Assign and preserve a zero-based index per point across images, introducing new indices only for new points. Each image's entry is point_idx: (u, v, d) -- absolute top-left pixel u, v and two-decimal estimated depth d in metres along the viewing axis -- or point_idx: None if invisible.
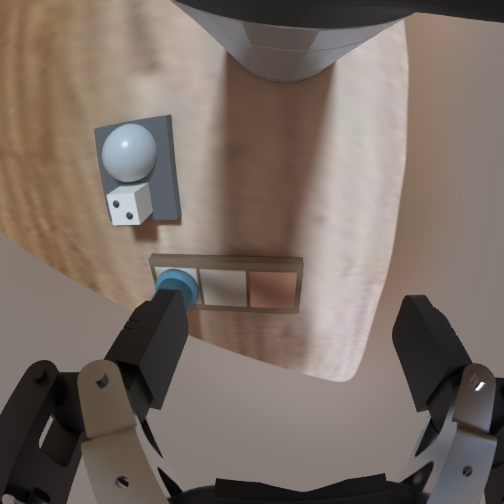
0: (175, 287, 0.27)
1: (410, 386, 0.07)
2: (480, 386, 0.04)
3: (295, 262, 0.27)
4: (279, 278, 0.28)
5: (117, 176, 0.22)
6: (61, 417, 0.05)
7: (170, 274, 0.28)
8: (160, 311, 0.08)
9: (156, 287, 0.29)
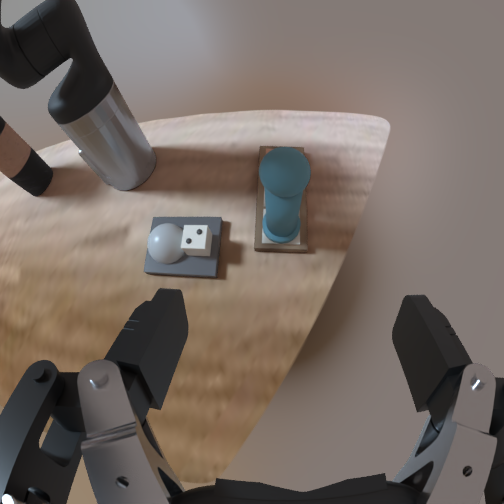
0: None
1: (410, 386, 0.07)
2: (480, 386, 0.04)
3: None
4: None
5: (173, 242, 0.34)
6: (61, 417, 0.05)
7: (263, 223, 0.34)
8: (160, 311, 0.08)
9: (277, 239, 0.34)
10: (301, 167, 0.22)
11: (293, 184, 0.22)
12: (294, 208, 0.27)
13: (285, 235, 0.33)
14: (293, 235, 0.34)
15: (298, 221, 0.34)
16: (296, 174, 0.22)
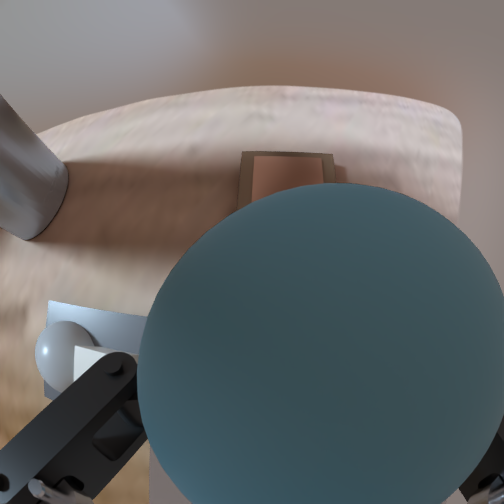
0: None
1: None
2: None
3: (241, 162, 0.19)
4: (263, 175, 0.18)
5: (66, 370, 0.13)
6: (127, 414, 0.05)
7: None
8: None
9: None
10: (490, 440, 0.01)
11: None
12: None
13: None
14: None
15: None
16: None
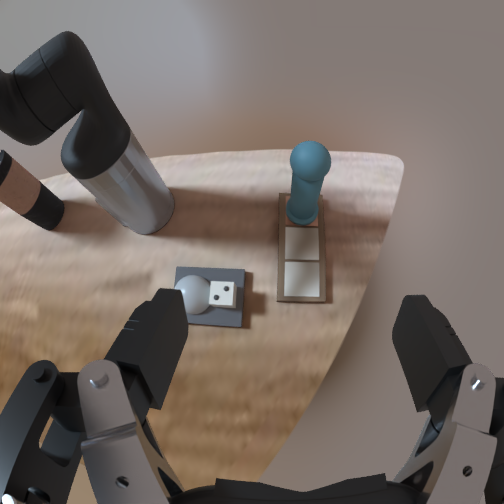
0: None
1: (410, 386, 0.07)
2: (480, 386, 0.04)
3: (279, 198, 0.42)
4: None
5: (200, 296, 0.35)
6: (61, 417, 0.05)
7: (286, 208, 0.40)
8: (160, 311, 0.08)
9: (299, 221, 0.39)
10: (324, 157, 0.27)
11: (318, 170, 0.27)
12: (316, 192, 0.32)
13: (306, 218, 0.38)
14: (312, 218, 0.39)
15: (316, 206, 0.39)
16: (321, 162, 0.27)
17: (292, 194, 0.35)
